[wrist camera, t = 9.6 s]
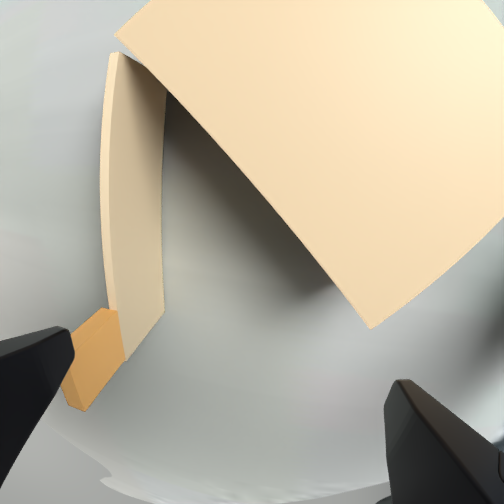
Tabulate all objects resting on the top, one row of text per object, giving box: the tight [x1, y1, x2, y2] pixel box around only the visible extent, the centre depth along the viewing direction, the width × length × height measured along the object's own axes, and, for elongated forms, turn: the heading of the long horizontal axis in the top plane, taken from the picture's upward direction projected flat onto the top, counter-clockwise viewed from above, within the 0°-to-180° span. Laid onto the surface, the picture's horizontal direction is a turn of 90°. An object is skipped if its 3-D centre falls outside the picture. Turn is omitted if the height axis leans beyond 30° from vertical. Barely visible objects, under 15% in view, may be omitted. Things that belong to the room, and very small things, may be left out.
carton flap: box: [61, 52, 167, 412], centre depth 13 cm, size 16×1×11 cm, turn 176°
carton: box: [114, 0, 504, 330], centre depth 12 cm, size 18×16×6 cm
